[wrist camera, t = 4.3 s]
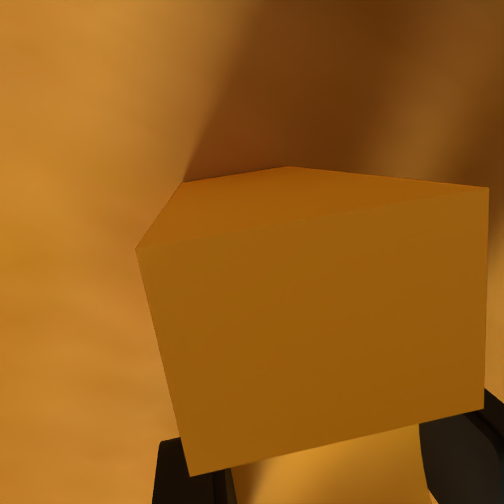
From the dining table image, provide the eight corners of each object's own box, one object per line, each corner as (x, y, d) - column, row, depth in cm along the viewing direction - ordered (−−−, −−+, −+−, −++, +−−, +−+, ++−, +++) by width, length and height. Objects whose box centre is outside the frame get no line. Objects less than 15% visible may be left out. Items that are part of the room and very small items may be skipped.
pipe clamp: (382, 524, 12) (568, 898, 6) (254, 557, 12) (313, 995, 6) (357, 155, 9) (696, 152, 3) (181, 183, 9) (136, 247, 2)
